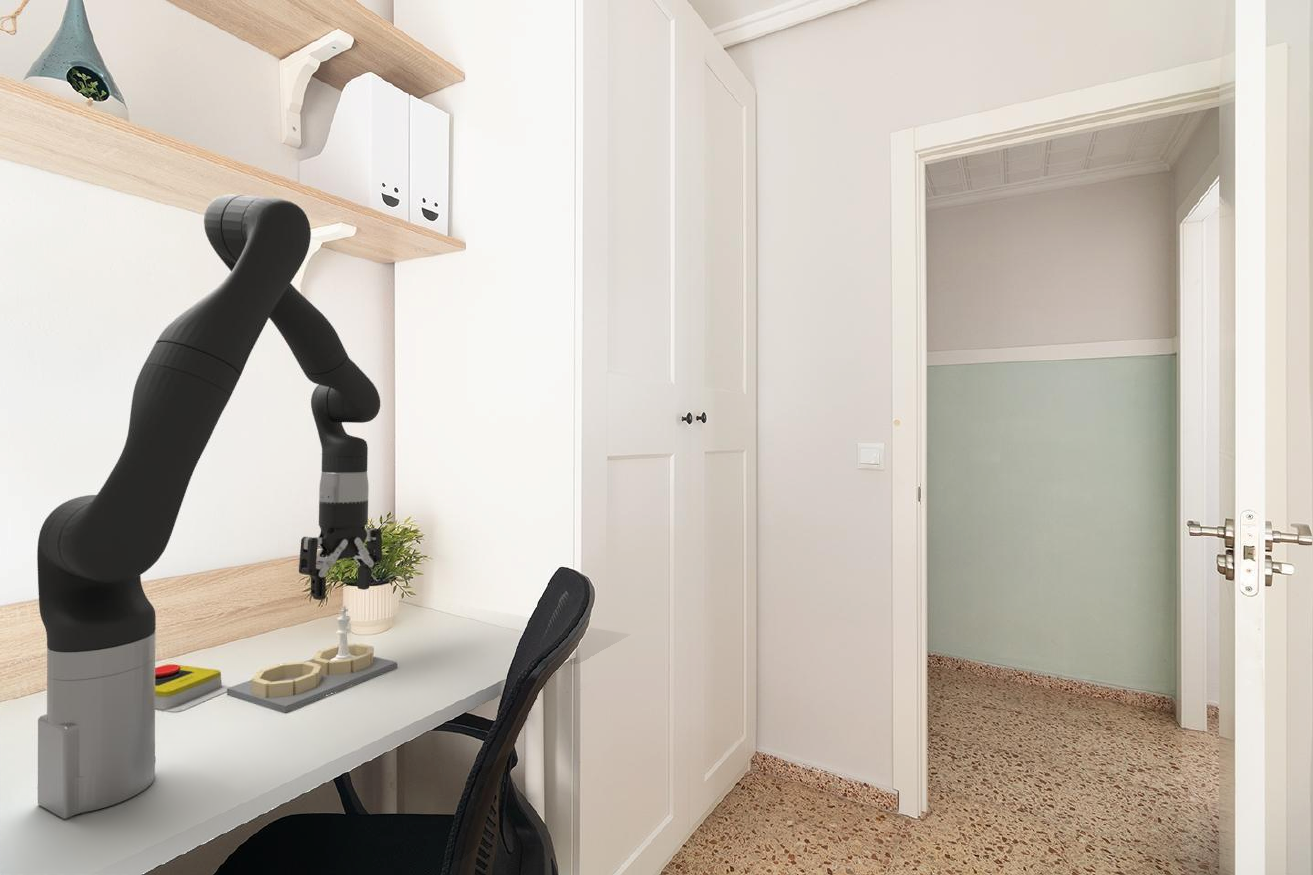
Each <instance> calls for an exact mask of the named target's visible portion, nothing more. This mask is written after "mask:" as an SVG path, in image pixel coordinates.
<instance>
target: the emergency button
mask: <svg viewBox="0 0 1313 875" xmlns="http://www.w3.org/2000/svg"><path fill="white" fill-rule="evenodd" d="M222 684H223V683H222V674H221V670H219V669H215V668H214V669H213V668H205V667H197V666H190V665H189V666H188V665H183V664H175V663H168V664H165V665H164V664H163V665H160V666H158V667H157V666H156V667H155V711H161V712H167V713H174V714H175V713H177V714H178V713H181V712H185V711H187V710H189V709H191V708H194V707H196V706H198V705H200V704H204V703H205V702H208V701H210V700H212V699H215V698H218V697H219V696H221V695H224V694H227V688H229V687H230V686H227V685H222Z"/></svg>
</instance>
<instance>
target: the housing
mask: <svg viewBox="0 0 1313 875" xmlns="http://www.w3.org/2000/svg"><path fill="white" fill-rule="evenodd" d="M374 649H375V648H374V646H372V645H368V644H363V643H350V644H349V643H348V650H349V653H350V654H351V655H352V656H356V657H355V658H352V659H344V660H334V661H330V660H331V659H333V658H335V657H336V655H338V650H339V644H338V645H333V646H329V647H327V648H324V649H321V650H318V651H316V652H315V654H314V656H313V658H312V659H310V660H306V661H295V662H285V663H281V664H279V663H278V664H276V665H272V666H270V667H267V668H264V669H260V670H259V671H257V672H256V673H255V674H254V675H253V677H252V678H251V679H250V680H246V681H244V682H240V683H239V684H235V685H233V686H228V687H229V688H227V693H226V695H227V696H230V697H233V698H236V699H239V700H242V701H246V702H249V703H252V704H255V705H258V706H262V707H265V708H269V709H271V710H275V711H277V712H280V713H284V714H287V713H289V712H291V711H295V710H297V709H299V708H301V707H300V706H302V707H304V706H306V705H305V704H307V705H309V704H311V703H314V702H316V701H315V700H317V701H319V700H321V699H320V698H322V697H324V696H326V695H329V694H331V693H334V694H335V692H336V693H338V692H337V691H339V692H341V691H343V690H342V689H344V688H346V689H348V688H347V687H349V686H351V685H354V684H356V685H358V684H357V683H359V684H361V683H364V682H366V681H368V680H371V679H373V678H376V677H378V676H380V674H381V675H383V674H385V673H388V672H390V671H393V670H395V669H397V668H398V662H397V661H396V660H395V661H394V660H389V659H385V658H381V657H376V656H375V655H374ZM382 673H383V674H382ZM375 676H376V677H375ZM365 680H366V681H365ZM354 686H355V685H354ZM351 687H352V686H351ZM349 688H350V687H349ZM340 690H341V691H340ZM344 690H345V689H344ZM331 695H332V694H331ZM329 696H330V695H329ZM326 697H327V696H326ZM324 698H325V697H324ZM318 699H319V700H318ZM322 699H323V698H322ZM303 705H304V706H303ZM296 708H297V709H296Z"/></svg>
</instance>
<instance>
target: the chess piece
mask: <svg viewBox="0 0 1313 875" xmlns="http://www.w3.org/2000/svg"><path fill="white" fill-rule="evenodd" d="M346 607H347V606H346V605H342V606H341V610H339V611H338V614H340V615H341V616H338V617H337V619H336V621H337V624H338V626H339V628H340V629H339V630H337V631H336V635H340V636H339V637H340V638H339V644H338V645H339V650H338V655H336V657H335V658H333V659H331V660H330V661H334V660H344V659H352V658H355V657H356V656H352V655H351V654H350V653H349V650H348V644H349V643H348V634H350V633H351V630H350V628H349V629H348V627H349V622H350V621H351V617H350V616H349V615H347V612H349V608H346Z"/></svg>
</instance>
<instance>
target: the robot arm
mask: <svg viewBox="0 0 1313 875" xmlns="http://www.w3.org/2000/svg"><path fill="white" fill-rule="evenodd" d="M203 225H204V231H205V235H206V237H207V240H208V241H209V243H210V245H211V247H212V248H213V250H214V252H215V253H216V255H217V256H218V257H219V258H220V260H221V261H222V262H223V264H225V266H226V267H227V268H228V269H229V270H230V273H229V274H228V276H227V277H226V278H225V279H224V280H223V281H222V282H221V284H219V285H218V286H217V287H216V288H215V289H214V290H212V291H211V292H210V293H208V294H207V295H206V296H205V297H203V298H201V299H200V300H198V301H197V302H196V303H195V304H193V305H191V306H190V308H188V309H186V310H184V312H182V313H181V314H180V315H179V316H177V317H176V318H175V319H174V320H173V321H172V322H170V323H169V324H168V325H167V326H166V327H165V329H164V330H163V331H162V332H161V334H160V335H159V336H158V338H157V340H156V341H155V343H154V345H153V347H152V348H151V350H150V352H149V354H148V356H147V358H146V360H145V362H144V363H143V365H142V367H141V370H140V372H139V374H138V377H137V379H136V381H135V385H134V389H133V393H132V400H131V406H130V416H129V424H128V432H127V436H126V440H125V444H124V447H123V449H122V451H121V453H120V456H119V458H118V460H117V461H116V464H114V465H115V466H114V467H113V469H112V470H111V472H110V473H109V475H108V477H107V479H106V480H105V483H103V486H102V487H101V488H100V490H99V491H98V493H97V494H89V495H82V496H78V497H74V498H72V499H69V500H67V501H65V502H63V503H61V504H60V505H58V506H57V507H55V509H53V510H52V511H51V512H50V513H49V515H48V516H47V517H46V519H45V520H44V522H43V524H42V526H41V527H40V530H39V535H38V540H37V554H36V557H37V560H36V565H37V590H38V607H39V613H40V618H41V621H42V624H43V625H44V629H45V633H46V675H47V676H46V714H43V715H41V716H39V718H38V719H37V805H38V806H40V807H42V808H44V809H45V810H48V811H49V812H51V813H53V814H54V815H56V816H58V817H60V818H61V819H69V818H70V817H73V816H75V815H78V814H83V813H87V812H91V811H97V810H100V809H103V808H108V807H111V806H113V805H117V804H119V803H122V802H123V801H126V800H129V799H131V798H132V797H135V796H136V795H138V794H140V793H141V792H143V791H145V790H146V789H147V788H148V787H149V786H150V785H151V784H153V782H154V780H155V778H156V761H157V760H156V759H157V758H156V710H155V668H156V622H157V621H156V611H155V608H154V606H153V605H152V603H151V602H150V601H149V599H148V598H147V595H146V594H145V591H144V589H143V585H142V579H141V577H142V576H141V575H142V574H144V573H146V572H147V571H148V570H150V568H152V567H153V566H154V565H155V564H156V562H158V561H159V559H160V558H161V556H162V555H163V553H164V552H165V550H166V549H167V546H168V544H169V543H170V542H169V541H170V538H171V537H172V533H173V531H174V528H175V525H176V522H177V519H178V516H179V513H180V509H181V507H182V504H183V502H184V499H185V496H186V492H187V490H188V487H189V484H190V481H191V478H192V476H193V474H194V472H195V469H196V467H197V464H198V462H199V461H200V458H201V456H202V455H203V454H204V453H203V452H204V450H205V449H206V448H207V444H208V443H209V442H210V439H211V436H212V434H213V433H214V430H215V428H216V426H217V424H218V422H219V420H220V418H221V416H222V414H223V412H224V410H225V408H226V407H227V405H228V402H230V399H231V397H232V394H233V392H234V390H235V388H236V386H237V385H238V382H239V380H240V378H241V376H242V374H243V371H244V368H245V367H246V364H247V362H248V359H249V357H250V355H251V353H252V351H253V349H254V346H255V345H256V344H257V342H258V339H259V337H260V335H261V333H262V332H263V329H265V326H266V324H267V322H268V320H269V319H270V321H271V322H272V323H273V324H274V326H275V327H276V329H277V330H278V332H279V333H280V335H281V336H282V338H283V339H284V341H285V342H286V344H287V346H288V347H289V349H290V351H291V352H292V355H293V356H294V358H295V359H296V361H297V363H298V365H299V367H300V369H301V370H302V372H303V373H304V375H305V377H306V379H308V380H309V381H310V382H312V383H314V384H316V387H315V388H314V390H313V392H312V395H311V399H310V408H311V412H312V416H313V419H314V423H315V426H316V430H317V433H318V437H319V442H320V446H321V475H320V480H319V490H318V491H319V493H318V495H319V496H318V497H319V498H318V500H319V501H318V526H319V528H320V533H319V536H316V537H312V536H303V537H302V538H301V540H300V552H299V564H298V573H299V574H301V575H307V576H309V577H310V595H311V597H312V598H313V599H314V600H318V601H322V600H326V596H327V594H326V592H327V591H326V590H327V577H326V576H325V575H326V574H327V572H328V571H329V569H330V568H331V567H332V566H333V565H334V564H335V563H336V562H337V561H341V560H344V559H346V558H351V559H352V558H353V559H354V561H356V563H357V564H358V566H359V567H357V580H356V581H357V584H356V586H357V589H359V590H362V591H363V590H364V591H366V590H369V588H370V586H371V584H372V568H373V567H374V565H375V564H377V563H380V562H382V561H383V543H382V542H383V540H382V537H383V536H382V529H380V528H374V527H368V528H367V529H366V526H367V525H368V522H369V521H368V520H369V486H370V485H369V479H368V460H369V459H368V456H369V455H368V454H369V453H368V452H369V451H368V450H369V448H368V442H367V441H366V440H365V439H363V438H361V437H358V436H353V435H350V434H348V433H347V432H346V430H345V428H344V426H343V423H357V424H358V423H359V424H360V423H361V424H364V423H368V422H372V421H373V420H374V419H375V418H376V417H377V416H378V414H379V412H380V409H381V396H380V394H379V392H378V389H377V387H376V386H375V384H374V382H372V380H371V379H370V378H369V377H368V376H367V375H366V373H364V371H363V370H362V369H361V368H360V366H358V365H357V364H356V363H355V362H354V361H353V360H352V359H351V358H350V357H349V355H348V353H347V351H346V349H345V347H344V345H343V343H342V341H341V339H340V336H339V335H338V332H337V330H336V329H335V328H334V326H333V325H332V323H331V322H330V321H329V320H328V318H327V317H326V316H325V315H324V314H323V313H322V312H321V311H320V310H319V309H318V308H316V306H315V305H313V303H311V302H310V300H308V299H307V298H306V297H305V296H304V295H303V294H302V293H301V292H299V290H298V289H297V288H296V287H295V286H294V285H293V284H292V281H293V279H294V278H295V276H296V275H297V273H298V271H299V270H300V268H301V267H302V265H303V262H305V259H306V257H307V255H308V253H309V249H310V244H311V238H312V232H311V231H312V230H311V223H310V221H309V218H308V216H307V214H306V212H305V211H304V210H303V208H301V207H300V206H298V204H295V203H294V202H293V201H289V200H285V199H283V198H276V197H271V196H270V197H268V196H257V195H249V194H248V195H246V194H224V195H219V196H217V197H215V198H214V199H212V200H211V201H210V202H209V204H208V205H207V207H206V209H205V212H204V217H203ZM365 542H366V546H365V545H364V543H365ZM320 547H321V548H320ZM319 549H320V550H319ZM318 550H319V552H318Z"/></svg>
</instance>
